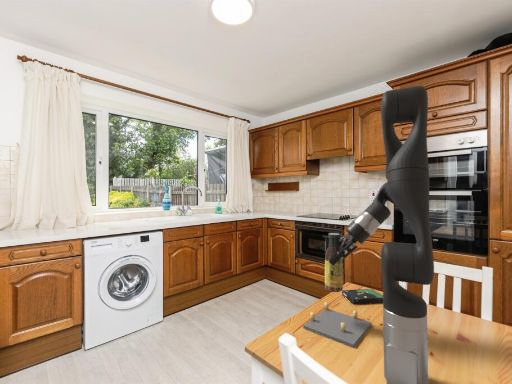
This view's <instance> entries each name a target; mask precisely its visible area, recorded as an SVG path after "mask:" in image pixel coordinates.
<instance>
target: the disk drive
mask: <svg viewBox="0 0 512 384" xmlns="http://www.w3.org/2000/svg"><path fill="white" fill-rule="evenodd" d="M341 292H342V293H341V294H342V296H343V297H344V298H345V297H346V298H347V299H348V300H349V301H350V302H349V301H348V300H347V299H346V298H345V299H346V300H347V301H348V302H349V303H351V304H352V305H354V304H357V305H367V304H368V305H370V303H372V304H383V293H382V294H381V293H380V292H378V291H376V290H374V289H373V288H364V289H342V291H341Z"/></svg>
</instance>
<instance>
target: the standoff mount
mask: <svg viewBox="0 0 512 384" xmlns="http://www.w3.org/2000/svg"><path fill="white" fill-rule="evenodd" d="M352 311H353V313H352V314H353V315H349V314H346V313H343V312H339V311H336V310H333V309H329V302H328V301H325V302H324V309H322V310H321V311H320V312H319V313H317V314H315V312H313V311H311V312H310V319H309V320H308V321H307V322H306V323H304V324H303V325H302V328H303V329H304V330H306V331H309V332H311V333H314V334H317V335H320V336H322V337H323V338H328V339H330V340H332V341H334V342H337V343H340V344H343V345H345V346H348V347H350V348H353V349H355V347H356V345H358V343H359V342H360V341H361V340H362V338H363V337H364V336H365V334H366V333H367V331H368V330H369V329H370V328H371V327H372V325H373V323H372V321H369V320H365V319H361V318H359V316H358V311H357V310H352Z"/></svg>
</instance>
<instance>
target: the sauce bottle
mask: <svg viewBox="0 0 512 384" xmlns="http://www.w3.org/2000/svg"><path fill="white" fill-rule="evenodd" d="M340 237H341V234H340V233H338V232H337V233H335V232H333V233H332V232H330V233H328V247H327V248H326V251H325V257H324V258H325V260H324V288H325V290H326V291H327V292H332V293H340V292H342V290H344V289H343V287H344V258H341V259H340V260H339V261H338V262H337V263H336V264H335V265H332V264H331V263H330V262H329V259H330V258H331V257H332V256H333V255H334V254H335V253H336V252H337V251H338V250H339V246H340Z"/></svg>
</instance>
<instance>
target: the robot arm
mask: <svg viewBox="0 0 512 384" xmlns="http://www.w3.org/2000/svg"><path fill="white" fill-rule="evenodd" d="M428 108H429V96H428V92H427V89H426V87H425V86H423V85H416V86H408V87H402V88H397V89H389V90H387V91H385V92H384V93H383V94H382V97H381V103H380V116H381V117H380V120H381V129H382V130H381V131H382V137H383V144H384V153H385V178H386V180H387V181H386V182H385V183H383V184H382V185H381V186H380V188H379V190H378V193H377V194H376V196H375V198H374V199H373V201H372V203H371V204H369V206H367V208H366V209H364V210H363V212H361V213H360V214H359V215H358V216H356V217H355V218H354V219H353V220H352V222H350V223H349V224H348V225H347V226H346V227H345V231H346V233H347V234H346V235H344V234H342V235H341V234H340V246H339V250H338V251H337V252H336V253H335V254H334V255H333V256H332V257H331V258H330V259H329V262H330V263H331V264H332V265H335V264H336V263H337V262H338V261H339V260H340V259H341V258H343V259H346V258H347V257H348V256H349V255H350V254H351V253H352V252H354V251H355V250H356V249H358V245H357V243H359V244H361V245H362V244H364V243H365V242H366V241H367V240H368V239H369V238H370V237H371V236H372V235H373V234H374V233H375V232H376V231H377V230H378V228H379V227H380V226H381V225H382V224H383V223H384V222H385V221H386V220H387V219H388V218H389V217H390V216H391V214H392V213H391V210H390V209H389V208H388V206H386V204H387V202H390V203H391V204H393V205H394V206H396V207H397V208H398V210H399V211H400V212H401V213H402V214H403V216H404V217H405V219H406V220H407V222H408V223H409V225H410V227H411V229H412V231H413V234H414V236H415V241H416V243H411V242H410V243H407V242H406V243H405V242H394V241H385V242H384V243H383V245H382V247H381V251H380V252H381V253H380V262H381V263H380V264H381V265H380V266H381V275H382V276H381V277H382V295H383V303H382V320H383V321H382V323H383V326H382V328H383V335H382V336H383V375H384V379H385V378H386V379H385V380H387V381H386V384H429V355H428V354H429V352H428V351H429V349H428V347H429V346H428V345H429V344H428V343H429V342H428V305H427V302H426V300H425V299H424V298H422V297H421V296H419V295H418V294H415V293H414V292H411V291H409V290H408V289H406V288H404V287H403V286H401V284H399V283H398V282H401V283H410V284H416V285H426V286H429V285H431V284H432V283H433V282H434V278H435V261H434V250H433V241H432V231H431V230H432V229H431V221H430V220H431V219H430V171H429V170H430V167H429V155H428V154H429V153H428V116H429V115H428V113H429V112H428V110H429V109H428ZM405 123H406V124H407V123H412V128H411V130H410V131H409V134H408V136H407V137H406V139H405V141H404V142H402V141H401V140H400V138H399V137H398V135H397V133H396V131H395V127H394V125H395V124H405Z"/></svg>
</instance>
